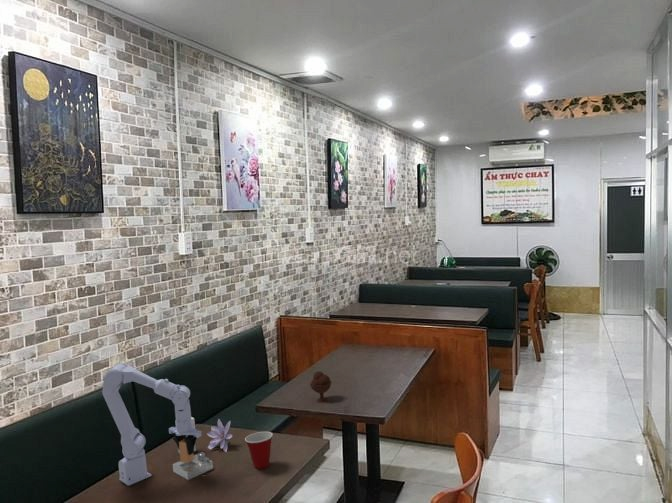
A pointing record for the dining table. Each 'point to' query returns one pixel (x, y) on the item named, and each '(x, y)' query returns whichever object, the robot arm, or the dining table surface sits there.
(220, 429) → the water lily
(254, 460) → the plastic cup
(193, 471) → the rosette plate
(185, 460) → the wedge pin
